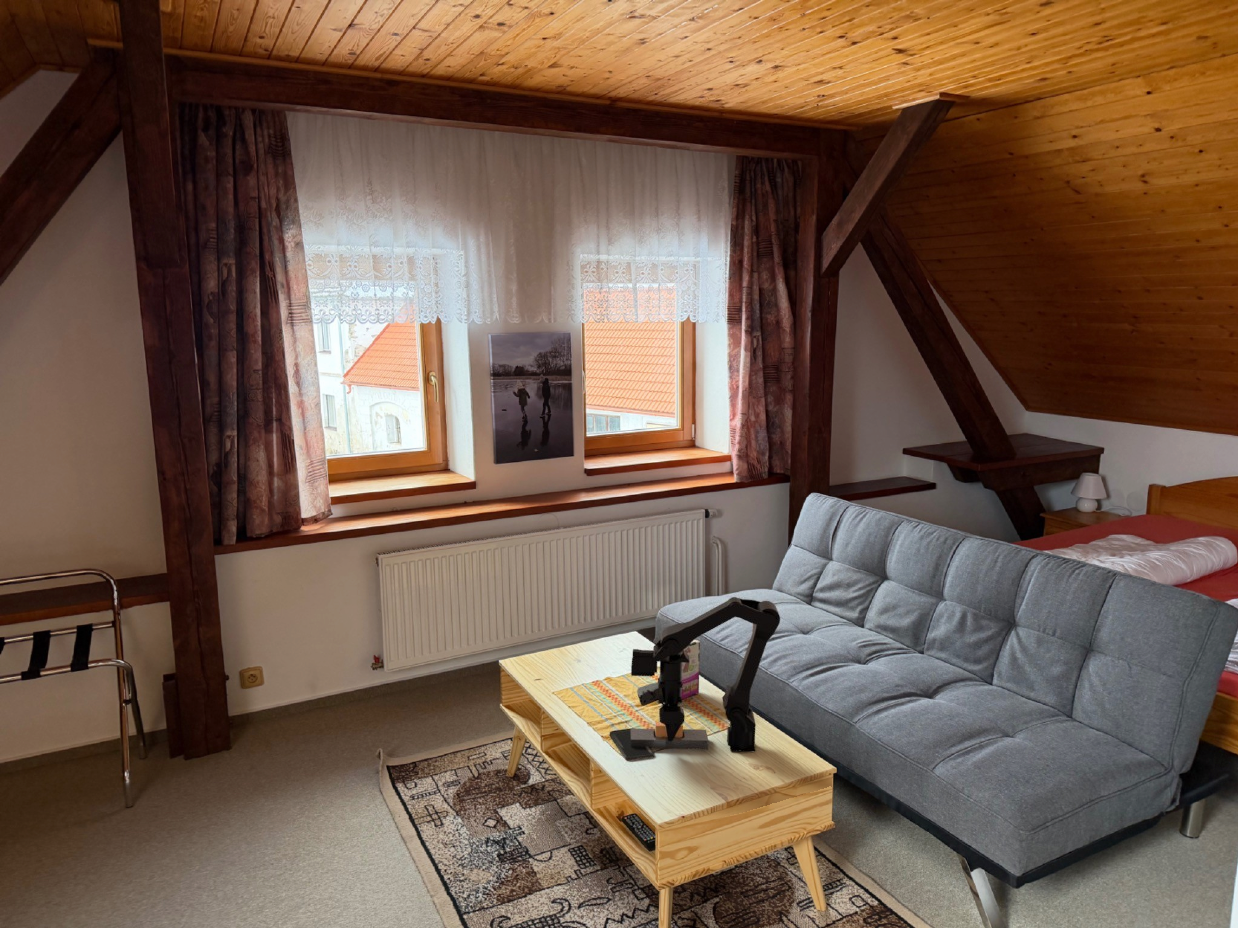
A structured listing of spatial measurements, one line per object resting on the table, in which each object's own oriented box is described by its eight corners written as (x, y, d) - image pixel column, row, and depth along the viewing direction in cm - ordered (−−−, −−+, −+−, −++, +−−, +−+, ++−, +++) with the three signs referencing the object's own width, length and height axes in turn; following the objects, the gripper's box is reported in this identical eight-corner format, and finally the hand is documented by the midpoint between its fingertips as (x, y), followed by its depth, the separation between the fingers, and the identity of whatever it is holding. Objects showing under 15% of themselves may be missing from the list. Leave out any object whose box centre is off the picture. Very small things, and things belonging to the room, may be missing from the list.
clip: (681, 741, 236) (682, 721, 235) (682, 745, 233) (682, 725, 232) (654, 740, 236) (655, 721, 235) (655, 745, 233) (655, 725, 232)
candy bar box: (687, 687, 268) (689, 636, 266) (699, 693, 265) (701, 641, 262) (659, 697, 261) (661, 644, 259) (671, 703, 258) (673, 649, 255)
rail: (705, 738, 238) (705, 729, 237) (708, 749, 232) (708, 740, 231) (630, 737, 237) (630, 728, 237) (630, 748, 231) (630, 739, 231)
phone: (636, 727, 241) (655, 753, 227) (635, 731, 242) (655, 757, 228) (608, 731, 239) (625, 758, 225) (608, 735, 239) (625, 762, 225)
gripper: (638, 661, 240) (637, 715, 243) (640, 691, 222) (639, 749, 225) (679, 662, 240) (678, 716, 243) (685, 691, 222) (683, 750, 225)
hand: (669, 732), depth 234 cm, fingers open, 9 cm apart
